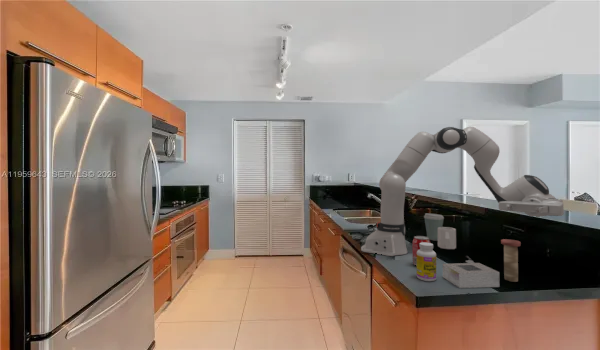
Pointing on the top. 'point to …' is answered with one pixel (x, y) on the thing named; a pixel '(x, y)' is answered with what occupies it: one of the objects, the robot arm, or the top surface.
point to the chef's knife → (469, 260)
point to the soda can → (416, 246)
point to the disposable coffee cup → (433, 225)
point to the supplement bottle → (426, 262)
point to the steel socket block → (471, 275)
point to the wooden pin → (511, 259)
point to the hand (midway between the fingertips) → (522, 209)
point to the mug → (446, 237)
